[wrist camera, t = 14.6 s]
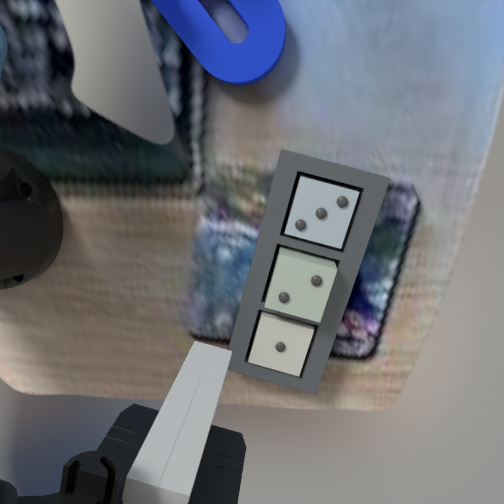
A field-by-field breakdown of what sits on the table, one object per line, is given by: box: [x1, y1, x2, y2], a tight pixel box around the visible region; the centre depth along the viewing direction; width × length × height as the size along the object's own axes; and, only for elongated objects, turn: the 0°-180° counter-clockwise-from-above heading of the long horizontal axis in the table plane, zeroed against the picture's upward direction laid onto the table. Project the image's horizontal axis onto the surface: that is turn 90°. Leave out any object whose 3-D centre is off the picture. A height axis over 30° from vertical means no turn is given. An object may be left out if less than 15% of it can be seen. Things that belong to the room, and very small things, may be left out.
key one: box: [248, 310, 314, 376], centre depth 42 cm, size 5×5×4 cm
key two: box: [264, 245, 337, 323], centre depth 38 cm, size 5×5×4 cm
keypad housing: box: [227, 149, 390, 395], centre depth 40 cm, size 10×23×3 cm, turn 166°
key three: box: [285, 174, 359, 249], centre depth 38 cm, size 5×5×4 cm
